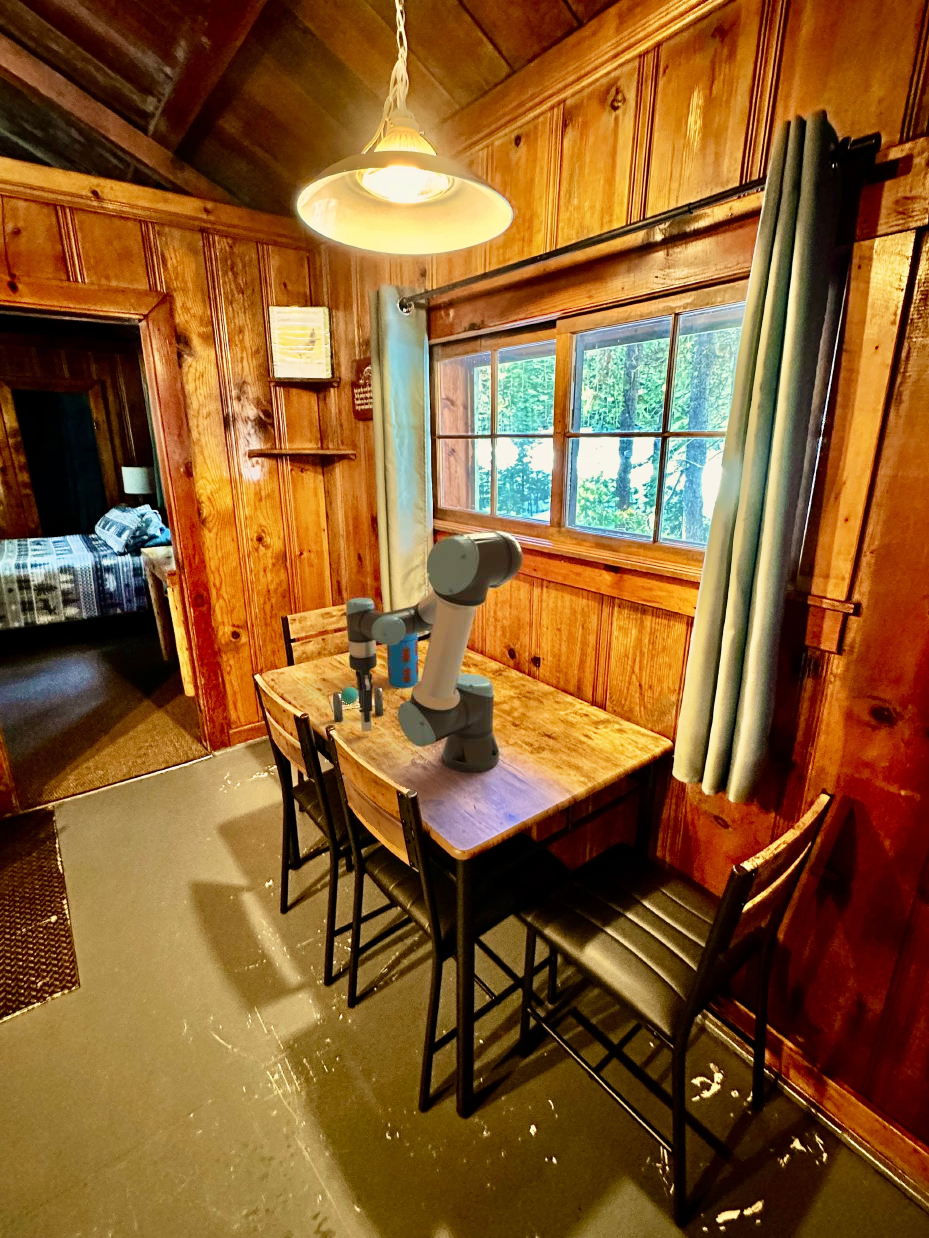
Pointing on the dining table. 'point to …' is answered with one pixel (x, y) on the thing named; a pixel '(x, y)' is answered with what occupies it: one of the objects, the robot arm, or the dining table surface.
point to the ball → (349, 695)
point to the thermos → (403, 662)
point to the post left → (337, 707)
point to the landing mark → (349, 704)
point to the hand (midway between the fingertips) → (366, 730)
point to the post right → (378, 701)
